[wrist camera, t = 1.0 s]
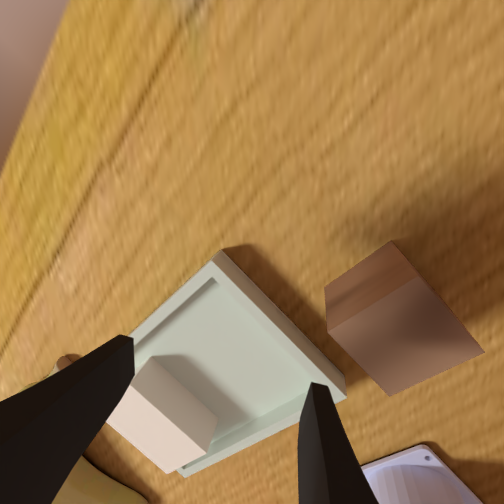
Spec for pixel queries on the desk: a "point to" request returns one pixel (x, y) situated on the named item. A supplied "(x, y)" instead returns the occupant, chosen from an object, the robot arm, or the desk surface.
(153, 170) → the desk surface
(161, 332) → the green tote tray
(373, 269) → the walnut block
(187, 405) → the pale pink block
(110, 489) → the banana
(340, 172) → the desk surface
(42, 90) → the desk surface
